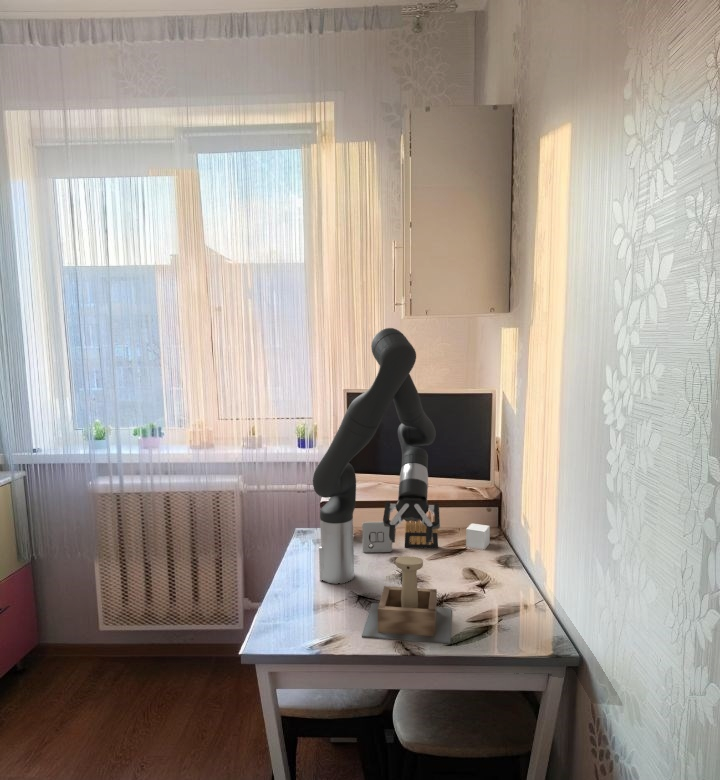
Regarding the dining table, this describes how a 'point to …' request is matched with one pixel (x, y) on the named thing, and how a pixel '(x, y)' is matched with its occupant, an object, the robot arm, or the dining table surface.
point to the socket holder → (408, 618)
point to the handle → (409, 580)
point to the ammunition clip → (419, 535)
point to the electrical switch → (376, 537)
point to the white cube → (478, 536)
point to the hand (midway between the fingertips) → (410, 542)
